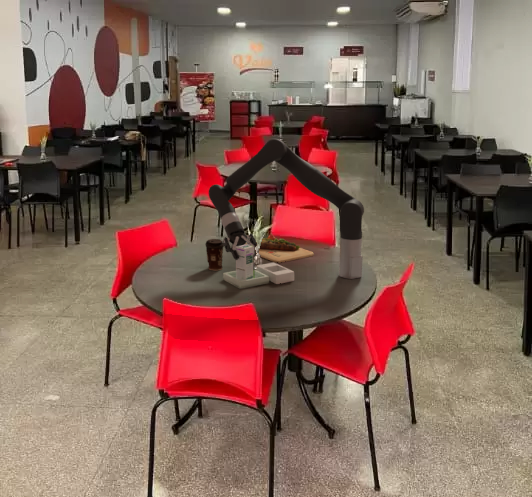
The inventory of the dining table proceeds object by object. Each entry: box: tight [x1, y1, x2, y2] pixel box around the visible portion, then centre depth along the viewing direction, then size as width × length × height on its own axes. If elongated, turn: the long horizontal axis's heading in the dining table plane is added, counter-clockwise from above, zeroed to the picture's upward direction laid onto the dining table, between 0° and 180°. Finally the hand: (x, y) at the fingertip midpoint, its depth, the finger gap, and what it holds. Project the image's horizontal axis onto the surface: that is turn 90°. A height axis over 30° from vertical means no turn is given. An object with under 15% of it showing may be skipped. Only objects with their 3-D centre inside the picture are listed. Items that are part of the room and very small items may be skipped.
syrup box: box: [235, 244, 256, 281], centre depth 272 cm, size 6×6×14 cm
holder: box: [256, 261, 295, 285], centre depth 279 cm, size 16×9×4 cm, turn 33°
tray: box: [222, 269, 270, 290], centre depth 274 cm, size 14×14×3 cm
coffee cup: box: [205, 238, 225, 272], centre depth 290 cm, size 9×8×13 cm
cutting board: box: [246, 233, 314, 264], centre depth 320 cm, size 35×23×8 cm
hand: (246, 257), depth 271 cm, fingers open, 8 cm apart
